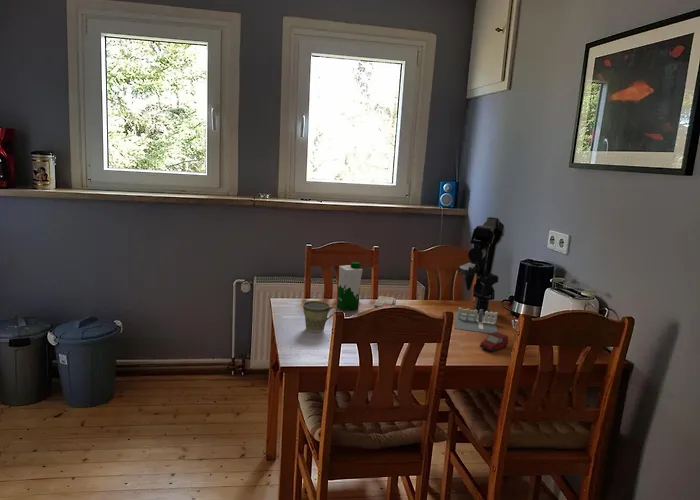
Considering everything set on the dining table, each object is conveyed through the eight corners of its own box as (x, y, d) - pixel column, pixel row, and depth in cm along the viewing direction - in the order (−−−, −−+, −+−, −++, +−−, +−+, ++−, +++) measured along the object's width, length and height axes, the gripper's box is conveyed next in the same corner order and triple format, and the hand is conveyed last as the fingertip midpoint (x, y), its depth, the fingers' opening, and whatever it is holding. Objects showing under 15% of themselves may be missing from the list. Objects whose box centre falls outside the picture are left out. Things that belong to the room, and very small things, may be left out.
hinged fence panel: (476, 319, 224) (477, 309, 223) (476, 320, 223) (478, 310, 222) (457, 317, 225) (458, 307, 224) (457, 318, 224) (458, 308, 223)
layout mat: (454, 312, 233) (454, 311, 233) (494, 317, 231) (494, 316, 231) (455, 328, 212) (455, 328, 212) (498, 334, 209) (498, 334, 209)
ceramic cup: (302, 334, 193) (304, 308, 191) (300, 324, 202) (302, 300, 200) (337, 335, 195) (339, 309, 193) (334, 325, 204) (335, 301, 202)
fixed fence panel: (478, 322, 222) (479, 310, 221) (478, 321, 224) (479, 309, 223) (495, 324, 221) (497, 312, 220) (495, 323, 223) (497, 311, 222)
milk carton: (361, 310, 226) (365, 265, 222) (341, 311, 222) (345, 265, 218) (352, 303, 233) (356, 260, 229) (333, 305, 230) (337, 260, 225)
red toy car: (478, 349, 193) (479, 336, 192) (495, 343, 201) (497, 330, 200) (491, 354, 189) (493, 341, 188) (509, 347, 197) (510, 335, 196)
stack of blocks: (379, 317, 218) (382, 289, 216) (394, 320, 217) (397, 291, 215) (371, 335, 198) (374, 304, 195) (387, 338, 197) (390, 306, 194)
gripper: (450, 252, 220) (446, 288, 224) (479, 264, 204) (474, 302, 208) (471, 251, 225) (467, 286, 229) (501, 262, 209) (496, 299, 213)
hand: (475, 293), depth 219 cm, fingers open, 9 cm apart
